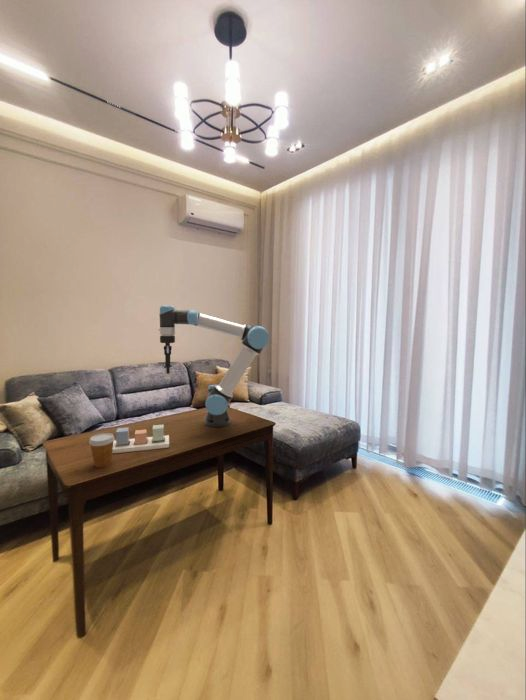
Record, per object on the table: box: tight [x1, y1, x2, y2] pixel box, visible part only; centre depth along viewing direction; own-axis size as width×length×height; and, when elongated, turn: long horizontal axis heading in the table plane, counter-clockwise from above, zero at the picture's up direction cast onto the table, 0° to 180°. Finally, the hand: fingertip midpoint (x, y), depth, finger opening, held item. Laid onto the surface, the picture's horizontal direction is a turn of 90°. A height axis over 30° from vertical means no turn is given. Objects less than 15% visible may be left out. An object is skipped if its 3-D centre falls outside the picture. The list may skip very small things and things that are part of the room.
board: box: [112, 434, 170, 455], centre depth 147 cm, size 26×11×2 cm, turn 108°
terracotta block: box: [134, 429, 148, 445], centre depth 146 cm, size 5×5×6 cm
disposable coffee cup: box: [88, 432, 116, 469], centre depth 128 cm, size 10×10×12 cm
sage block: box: [152, 424, 165, 441], centre depth 149 cm, size 5×5×6 cm
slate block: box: [115, 427, 130, 445], centre depth 144 cm, size 5×5×6 cm
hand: (168, 379), depth 162 cm, fingers closed
